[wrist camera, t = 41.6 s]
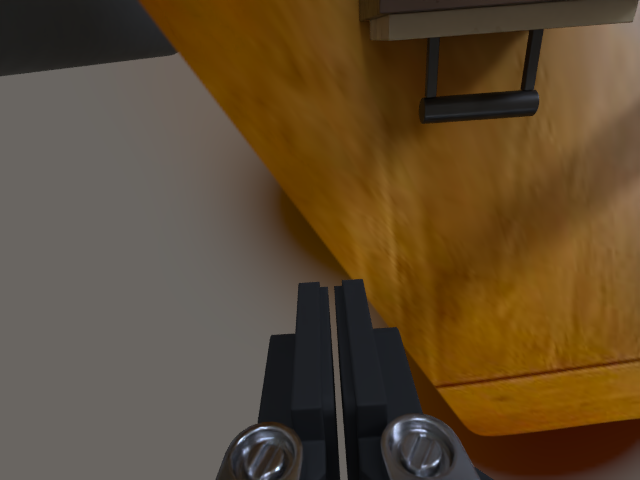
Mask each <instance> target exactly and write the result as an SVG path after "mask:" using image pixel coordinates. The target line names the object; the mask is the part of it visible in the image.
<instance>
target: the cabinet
mask: <svg viewBox="0 0 640 480" xmlns="http://www.w3.org/2000/svg"><path fill="white" fill-rule="evenodd" d="M551 1H564V0H359V20H360V21H370V20H373V19H376V18H379V17H382V16H386V15H389V14H398V13H410V12H423V11H436V10H449V9H462V8H475V7H487V6H500V5H513V4H526V3H539V2H551Z"/></svg>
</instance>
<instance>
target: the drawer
mask: <svg viewBox="0 0 640 480" xmlns="http://www.w3.org/2000/svg"><path fill="white" fill-rule="evenodd" d="M637 4H638V0H564V1H551V2H539V3H526V4H513V5H500V6H487V7H475V8H462V9H449V10H436V11H423V12H410V13H398V14H389V15H386V16H382V17H379V18H376V19H373V20H370V40H382V41H394V40H407V39H420V38H427V57H426V79H425V97H424V98H421V100H420V104H419V118H420V122H421V124H429V123H443V122H456V121H470V120H484V119H498V118H512V117H525V116H533V115H534V114H535V113H536V112H537V109H538V106H539V95H538V92H537V91H536V90H534V85H535V79H536V73H537V67H538V60H539V54H540V48H541V42H542V36H543V30H544V29H550V28H563V27H576V26H589V25H602V24H615V23H628V22H633V20H634V16H635V12H636V8H637ZM524 30H529V35H528V42H527V49H526V56H525V62H524V69H523V76H522V83H521V90H518V91H505V92H491V93H478V94H464V95H451V96H437V97H436V92H437V75H438V58H439V41H440V37H446V36H459V35H472V34H485V33H498V32H511V31H524Z"/></svg>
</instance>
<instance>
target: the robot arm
mask: <svg viewBox="0 0 640 480" xmlns="http://www.w3.org/2000/svg"><path fill="white" fill-rule="evenodd" d="M334 290H335V305H336V322H337V338H338V353H339V369H340V382H341V396H342V409H343V423H344V435H345V448H346V462H347V475H348V480H493V479H492V478H490V477H489V476H487V475H486V474H484V473H483V472H481V471H479V470H478V469H477V468H475V467H474V466H473V464H472V463H471V461H470V459H469V457H468V455H467V453H466V451H465V449H464V448H463V446H462V444H461V442H460V440H459V438H458V437H457V436H456V434H455V433H454V432H453V430H452V429H451V428H450V427H448V426H447V425H446V424H445V423H444V422H442V421H441V420H439V419H437V418H434V417H432V416H429V415H425V414H423V413H422V409H421V406H420V402H419V399H418V395H417V392H416V388H415V385H414V382H413V378H412V375H411V371H410V368H409V364H408V361H407V357H406V354H405V350H404V347H403V343H402V340H401V336H400V333H399V330H398V328H397V327H393V328H377V329H373V328H372V323H371V318H370V313H369V308H368V303H367V298H366V293H365V288H364V283H363V279H355V280H342V286H334ZM330 327H331V326H330V312H329V298H328V287H320V283H319V282H309V283H299V285H298V301H297V317H296V332H295V334H281V335H271V337H270V343H269V349H268V356H267V363H266V369H265V377H264V384H263V390H262V397H261V403H260V411H259V417H258V424H255V425H253V426H250V427H248V428H247V429H245V430H243V431H242V432H241V433H239V435H237V436H236V437H235V439H234V440H233V441H232V442H231V444H230V445H229V447H228V449H227V451H226V453H225V456H224V458H223V461H222V464H221V467H220V469H219V472H218V475H217V477H216V480H340V471H339V454H338V437H337V436H338V435H337V418H336V402H335V386H334V385H335V384H334V368H333V355H332V340H331V328H330Z"/></svg>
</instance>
